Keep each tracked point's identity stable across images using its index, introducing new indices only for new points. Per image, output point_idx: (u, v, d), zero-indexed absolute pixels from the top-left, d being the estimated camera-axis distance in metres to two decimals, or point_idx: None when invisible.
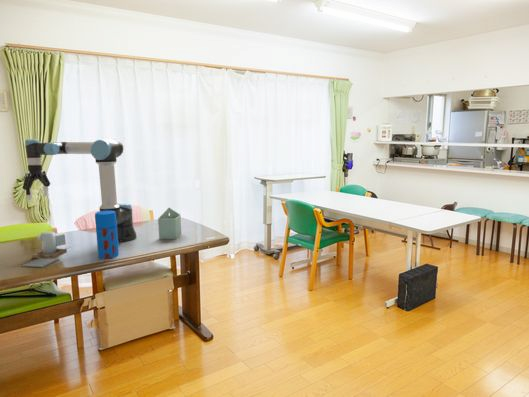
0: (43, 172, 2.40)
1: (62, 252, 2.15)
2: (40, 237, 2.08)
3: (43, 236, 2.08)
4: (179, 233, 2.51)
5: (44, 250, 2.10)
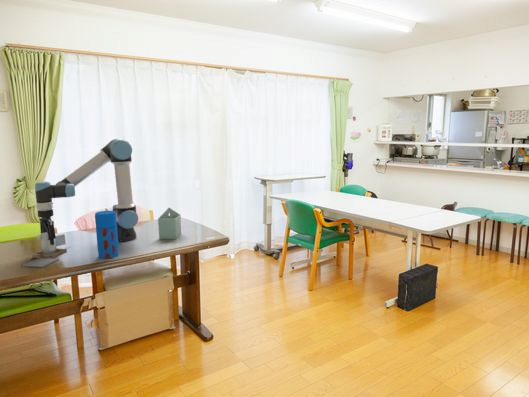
0: None
1: (62, 252, 2.15)
2: (40, 237, 2.08)
3: (43, 236, 2.08)
4: (179, 233, 2.51)
5: (44, 250, 2.10)
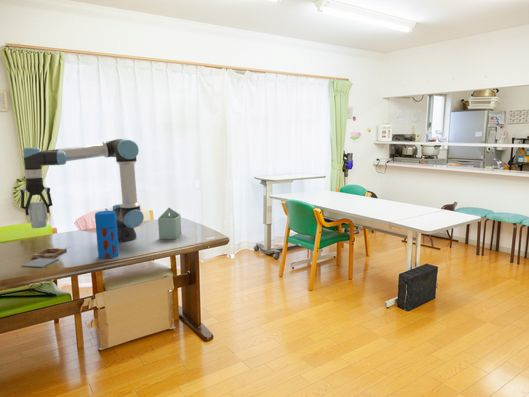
0: None
1: (62, 252, 2.15)
2: None
3: None
4: (179, 233, 2.51)
5: None
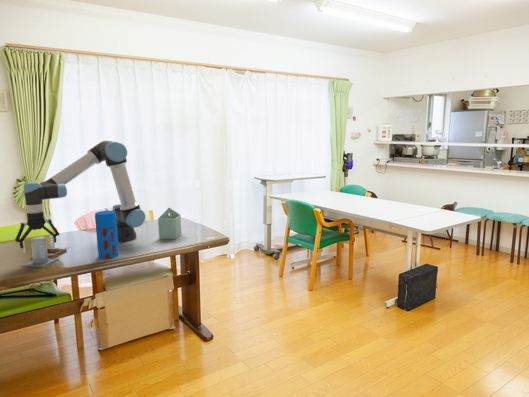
0: None
1: (62, 252, 2.15)
2: None
3: None
4: (179, 233, 2.51)
5: None
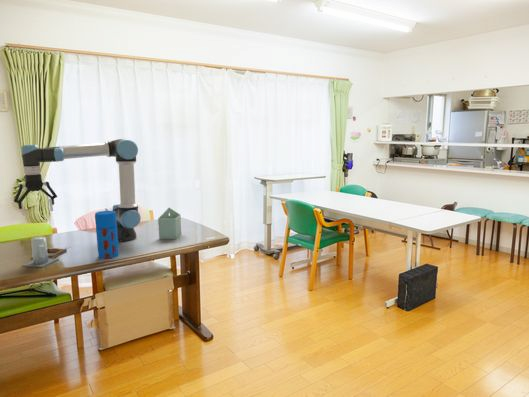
0: None
1: (62, 252, 2.15)
2: None
3: None
4: (179, 233, 2.51)
5: None
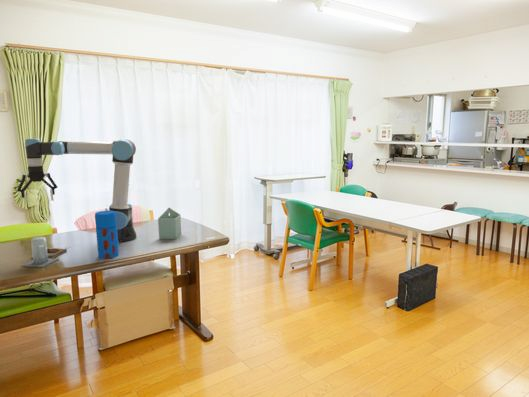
0: None
1: (62, 252, 2.15)
2: None
3: None
4: (179, 233, 2.51)
5: None
